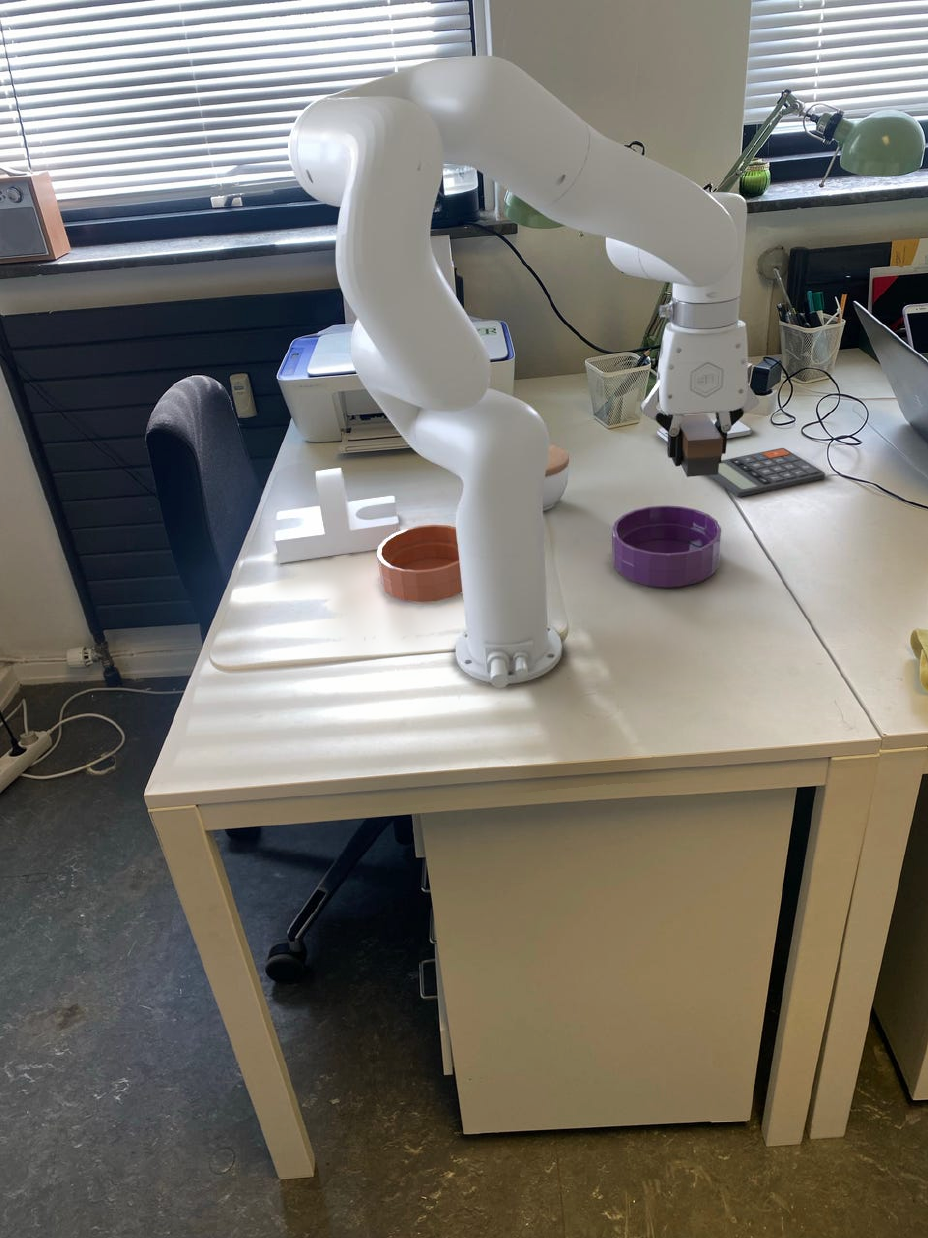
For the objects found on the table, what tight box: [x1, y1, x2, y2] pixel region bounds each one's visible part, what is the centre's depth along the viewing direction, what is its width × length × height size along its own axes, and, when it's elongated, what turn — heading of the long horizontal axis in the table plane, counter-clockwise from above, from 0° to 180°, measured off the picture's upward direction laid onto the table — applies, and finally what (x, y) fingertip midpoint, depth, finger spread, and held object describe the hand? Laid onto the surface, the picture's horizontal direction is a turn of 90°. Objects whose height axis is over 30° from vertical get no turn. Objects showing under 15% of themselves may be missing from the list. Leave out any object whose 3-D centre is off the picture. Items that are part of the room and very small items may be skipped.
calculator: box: [708, 447, 826, 498], centre depth 142 cm, size 12×1×15 cm
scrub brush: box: [680, 413, 723, 478], centre depth 112 cm, size 9×4×5 cm, turn 0°
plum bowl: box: [611, 505, 723, 588], centre depth 120 cm, size 14×14×5 cm
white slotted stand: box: [274, 467, 401, 564], centre depth 133 cm, size 18×10×11 cm, turn 98°
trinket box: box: [543, 444, 570, 512], centre depth 138 cm, size 11×11×9 cm
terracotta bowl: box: [376, 524, 463, 603], centre depth 122 cm, size 13×13×5 cm
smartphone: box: [656, 418, 752, 443], centre depth 157 cm, size 7×1×15 cm
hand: (695, 459), depth 113 cm, fingers closed on scrub brush, 4 cm apart
